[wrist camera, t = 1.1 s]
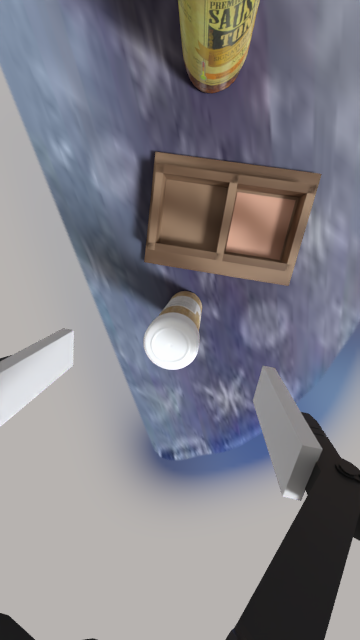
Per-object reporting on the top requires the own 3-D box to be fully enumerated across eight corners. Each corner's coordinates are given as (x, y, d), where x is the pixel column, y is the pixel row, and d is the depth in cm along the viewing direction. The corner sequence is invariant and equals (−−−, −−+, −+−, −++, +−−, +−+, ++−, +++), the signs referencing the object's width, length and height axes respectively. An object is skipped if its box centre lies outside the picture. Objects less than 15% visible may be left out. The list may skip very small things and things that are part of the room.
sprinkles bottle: (194, 328, 32) (184, 380, 19) (163, 314, 32) (134, 358, 19) (208, 298, 30) (208, 333, 18) (176, 284, 30) (153, 308, 18)
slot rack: (157, 154, 26) (150, 143, 24) (318, 176, 25) (332, 166, 22) (145, 261, 30) (139, 263, 27) (286, 285, 29) (295, 288, 26)
